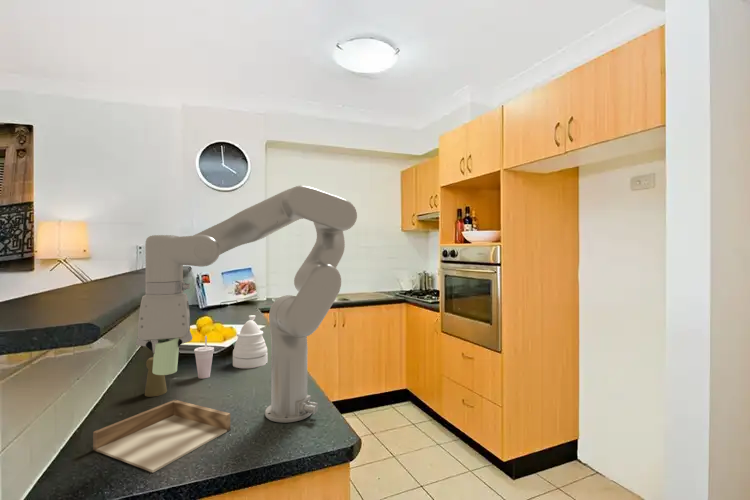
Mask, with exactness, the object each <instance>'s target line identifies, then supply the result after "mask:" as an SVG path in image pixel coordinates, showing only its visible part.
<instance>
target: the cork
mask: <svg viewBox="0 0 750 500" xmlns="http://www.w3.org/2000/svg"><path fill="white" fill-rule="evenodd" d="M153 358H154V356H152V357H149V358H148V359H147V360H146V362H145V365H146V368H147V369H148V370H147V374H146V382H145V388H144V396H145V397H147V398H149V397H150V398H153V397H159V396H163V395H164V394H166V393H167V392H168V388H167V383H166V375H156V374H153V373H152V369H153Z"/></svg>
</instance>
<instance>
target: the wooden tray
mask: <svg viewBox="0 0 750 500" xmlns="http://www.w3.org/2000/svg"><path fill="white" fill-rule="evenodd" d="M229 431H231V413H230V412H228V411H227V412H226V411H222V410H218V409H215V408H210V407H206V406H203V405H202V406H201V405H198V404H193V403H189V402H186V401H182V400H177V399H173V400H170V401H168V402H165V403H163V404H159V405H157V406H155V407H152V408H150V409H148V410H145V411H142V412H139V413H138V414H135V415H133V416H130V417H127V418H125V419H123V420H120V421H117V422H115V423H112V424H109V425H107V426H104V427H101V428H100V429H96V430H95V431H93V432H92V433H93V434H92V445H93V446H92V447H93V449H92V450H93V451H94V452H97V453H100V454H103V455H105V456H108V457H111V458H113V459H116V460H118V461H122V462H124V463H127V464H129V465H131V466H134V467H137V468H140V469H142V470H145V471H147V472H150V473H151V474H152V473H153V474H154V473H156V472H157V471H159V470H161V469H162V468H165V467H166V466H168V465H170V464H171V463H173V462H175V461H177V460H179V459H180V458H182V457H184V456H186V455H188V454H190V453H191V452H193V451H195V450H196V449H199V448H201V447H202V446H204V445H206V444H208V443H209V442H211V441H213V440H214V439H216V438H218V437H221V436H222V435H224V434H226V433H228V432H229Z"/></svg>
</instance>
